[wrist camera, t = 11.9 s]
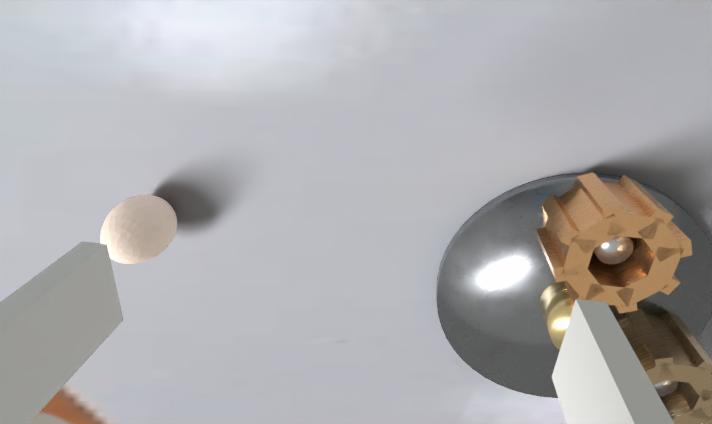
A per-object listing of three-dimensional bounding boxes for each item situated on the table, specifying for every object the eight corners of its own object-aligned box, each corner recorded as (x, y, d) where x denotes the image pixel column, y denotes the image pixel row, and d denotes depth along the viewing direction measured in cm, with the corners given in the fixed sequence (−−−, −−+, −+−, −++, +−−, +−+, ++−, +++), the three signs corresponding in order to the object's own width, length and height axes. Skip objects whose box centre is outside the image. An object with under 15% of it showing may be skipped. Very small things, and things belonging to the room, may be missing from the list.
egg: (124, 207, 45) (68, 249, 38) (154, 171, 43) (100, 208, 36) (170, 245, 46) (123, 292, 39) (201, 211, 44) (157, 255, 37)
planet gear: (551, 168, 36) (572, 200, 31) (667, 178, 35) (710, 213, 30) (528, 261, 40) (543, 304, 35) (632, 273, 39) (665, 319, 34)
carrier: (454, 160, 38) (460, 197, 32) (755, 187, 36) (829, 233, 29) (423, 369, 49) (423, 430, 42) (657, 401, 46) (695, 471, 40)
